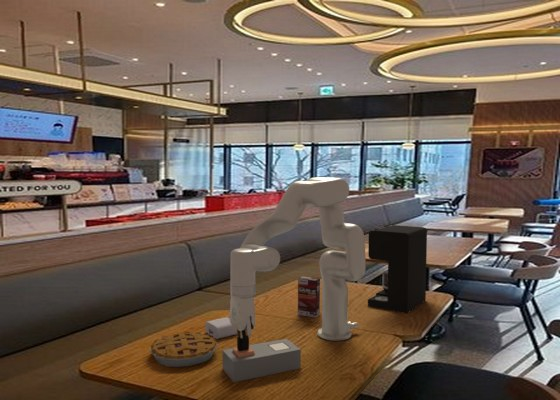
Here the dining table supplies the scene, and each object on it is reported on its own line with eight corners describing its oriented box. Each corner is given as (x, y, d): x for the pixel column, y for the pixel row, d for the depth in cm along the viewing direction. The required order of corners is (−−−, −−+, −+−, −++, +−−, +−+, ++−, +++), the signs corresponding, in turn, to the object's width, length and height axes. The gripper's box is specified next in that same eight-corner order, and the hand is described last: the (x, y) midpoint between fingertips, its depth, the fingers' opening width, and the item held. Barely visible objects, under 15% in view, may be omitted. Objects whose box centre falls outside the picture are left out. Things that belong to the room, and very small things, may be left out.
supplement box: (297, 315, 194) (297, 278, 193) (301, 312, 199) (301, 276, 198) (316, 317, 191) (317, 280, 190) (320, 314, 195) (320, 277, 194)
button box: (286, 356, 151) (286, 338, 151) (300, 368, 142) (300, 349, 142) (222, 368, 142) (222, 350, 141) (233, 382, 133) (233, 362, 132)
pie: (155, 374, 138) (155, 358, 138) (146, 348, 158) (145, 334, 158) (225, 362, 147) (225, 347, 147) (208, 339, 167) (207, 326, 167)
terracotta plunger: (248, 364, 143) (248, 345, 142) (254, 370, 138) (254, 351, 138) (232, 367, 140) (232, 347, 140) (238, 373, 136) (238, 353, 136)
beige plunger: (282, 360, 148) (282, 342, 147) (289, 366, 143) (289, 347, 143) (268, 363, 146) (268, 345, 145) (275, 369, 141) (275, 350, 141)
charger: (251, 331, 175) (217, 340, 166) (238, 325, 183) (205, 333, 174) (251, 319, 175) (217, 327, 166) (238, 313, 182) (205, 320, 173)
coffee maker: (390, 292, 231) (391, 223, 228) (429, 298, 219) (430, 226, 217) (366, 305, 208) (367, 229, 206) (408, 313, 197) (409, 232, 194)
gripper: (223, 285, 143) (223, 343, 144) (240, 297, 129) (240, 361, 130) (245, 283, 146) (245, 339, 147) (264, 294, 133) (264, 356, 134)
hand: (243, 349), depth 139 cm, fingers closed
